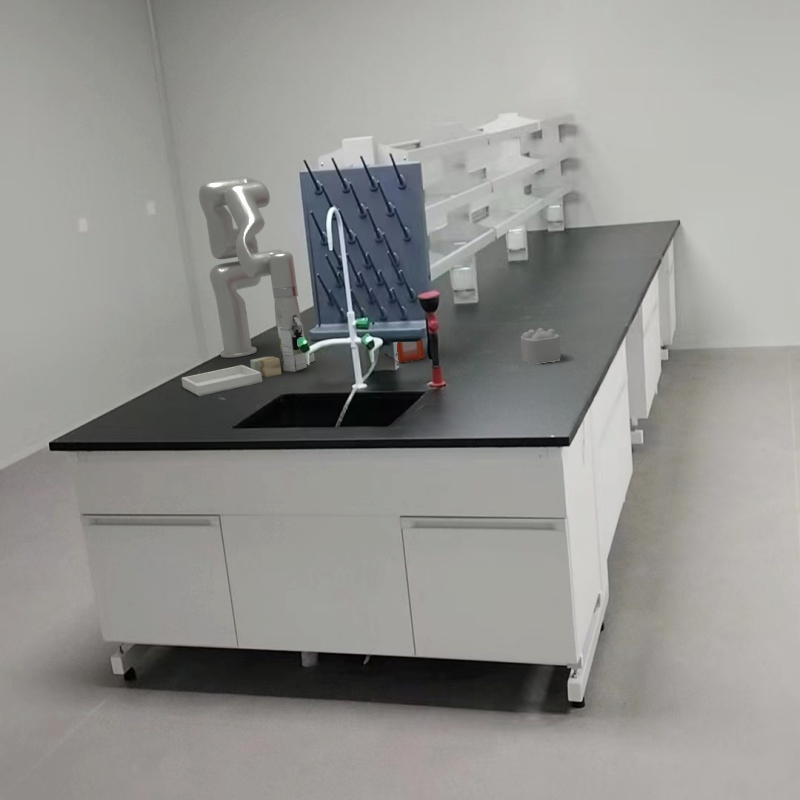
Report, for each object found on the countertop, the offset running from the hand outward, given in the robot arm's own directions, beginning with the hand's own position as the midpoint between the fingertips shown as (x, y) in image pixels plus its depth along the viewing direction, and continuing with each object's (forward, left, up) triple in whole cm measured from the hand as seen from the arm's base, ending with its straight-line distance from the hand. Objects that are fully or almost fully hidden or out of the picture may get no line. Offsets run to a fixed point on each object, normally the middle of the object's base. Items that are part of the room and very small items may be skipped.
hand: (292, 347), depth 322 cm
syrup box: (0, 0, -7) cm, 7 cm away
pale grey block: (-7, +7, -7) cm, 12 cm away
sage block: (-8, -8, -7) cm, 14 cm away
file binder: (+14, +31, -7) cm, 35 cm away
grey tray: (-1, -24, -7) cm, 25 cm away
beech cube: (-1, -8, -7) cm, 11 cm away
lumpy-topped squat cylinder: (+53, +56, -8) cm, 77 cm away
